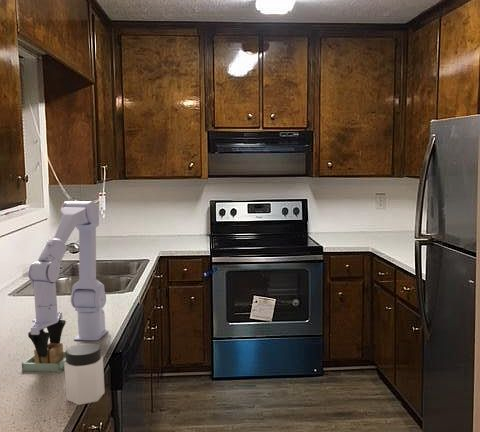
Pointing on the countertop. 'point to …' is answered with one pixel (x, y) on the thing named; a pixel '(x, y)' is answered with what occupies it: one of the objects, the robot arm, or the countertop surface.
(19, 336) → the countertop surface
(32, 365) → the tray
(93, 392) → the jar
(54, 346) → the wooden blocks
